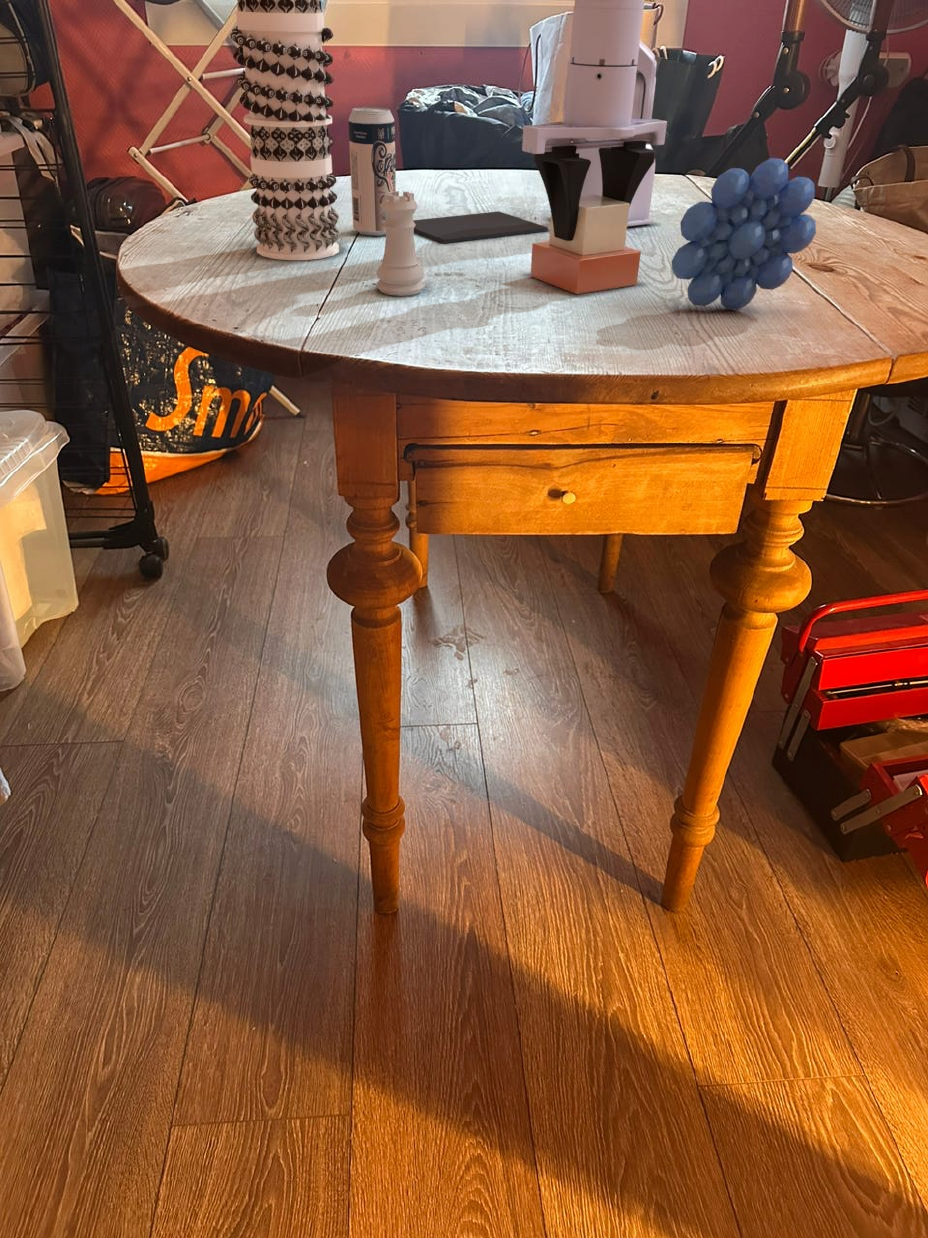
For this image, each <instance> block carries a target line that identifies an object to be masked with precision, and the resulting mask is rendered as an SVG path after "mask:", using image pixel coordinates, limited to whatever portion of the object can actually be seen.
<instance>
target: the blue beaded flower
mask: <svg viewBox="0 0 928 1238" xmlns="http://www.w3.org/2000/svg"><path fill="white" fill-rule="evenodd" d="M788 180H789V165H788V163H787V162H786V161H784V160H783V159H782V158H777V157H770V158H768V159H766V160H765V161H763V162H761V163H760V164H758V165H757V166H756V167H755V169H754V171H752V174H751V176H750V175H749V173H748V172H747V171H746V170H744V169H742V168H740V167H739V168H737V167H731V168H729V169H728V170H726V171H725V172H723V173H721V174H720V175H718V176H717V178H716V180H715V181H714V184H713V185H712V187H711V190H710V194H711V202H710V201H699V202H696V203H695V204H693V205H692V206H690V207H689V208H687V210H686V211H685V213H684V215H683V217H682V219H681V220H680V222H679V223H680V224H679V225H680V234H681V236H682V237H683V239H684V240H685V241H689V242H686V243H685V244H682V246H680V247H679V248H677V251H676V252H675V254H674V256H673V258H672V259H671V271H672V275H674V276H675V277H676V278H677V279H680V280H686V281H687V280H688V281H690V282H689V284H688V286H687V298H688V301H689V302H690V303H691V304H692V306H699V307H701V306H702V307H707V306H708V305H711V304H712V303H714V302H715V301H716V300H718V298H719V297H720V304H721V305H722V307H724V309H726V310H734V311H738V310H741V309H744V308H745V307H746V306H747V305H749V304H750V303H751V302H752V301H753V299H754V297H755V295H756V294H757V291H758V290H757V289H758V288H757V286H758V287H759V288H760V289H762V290H770V291H773V290H776V289H777V288H779V287H781V286H783V285H784V284H785V283H786V282H787V281H788V279H789V278H790V277H791V274H792V273H793V266H794V265H793V258H792V256H790V254H791V255H792V254H793V255H796V254H798V253H800V252H802V251H803V250H805V249H806V248H807V247H808V246H809V245H810V244H811V243H812V242H813V240H814V238H815V236H816V234H817V233H816V232H817V226H816V225H817V224H816V220H815V219H814V218H813V216H811V215H810V214H809V215H808V214H804V213H805V212H806V211H807V210H808V209H809V208H810V206H811V205H812V204H813V201H814V199H815V195H816V194H815V193H816V190H815V183H814V181H812V180H811V179H810V178H809V177H807V176H796V177H794V178H792V179H790V180H789V181H788Z"/></svg>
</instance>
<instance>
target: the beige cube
mask: <svg viewBox="0 0 928 1238" xmlns="http://www.w3.org/2000/svg"><path fill="white" fill-rule="evenodd" d="M629 205H630V204H629V203H626V202H622V201H619V200H615V199H611V198H607V197H604V196H600V195H596V194H591V195H581V197H580V202H579V210H578V219H577V225H576V230H575V235H574V238H573V240H572V241H565V240H562V239H559V238H556V237H555V236H554V229H553V221H552V215H551V214H550V226H549V244H550V245H553V246H556V247H559V248H561V249H564V250H567V251H570V252H573V253H576V254H579V255H582V256H583V255H591V254H598V253H605V252H613V251H620V250H624V249H625V247H626V239H627V230H628V226H627V223H628V214H629Z"/></svg>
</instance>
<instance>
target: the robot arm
mask: <svg viewBox="0 0 928 1238" xmlns="http://www.w3.org/2000/svg"><path fill="white" fill-rule="evenodd" d="M644 9H645V0H574V5H573V10H572V20H571V21H572V22H571V35H570V48H569V49H570V50H569V59H568V61H567V70H566V71H567V72H566V77H565V82H564V90H563V100H562V102H563V103H562V120H560V121H553V122H546V123H540V124H539V123H538V124H529V125H523V127H522V142H521V143H522V146H521V147H522V148H521V151H522V152H525V153H530V154H533V160H534V164H535V167H536V169H537V170H538V173H539V175H540V177H541V180H542V183H543V186H544V188H545V192H546V195H547V200H548V204H549V209H550V216H551V215H552V221H553V229H554V236H555V237H556V238H559V239H562V240H565V241H572V240H573V238H574V235H575V230H576V225H577V219H578V210H579V202H580V197H581V195H591V194H596V195H600V196H604V197H607V198H611V199H615V200H619V201H622V202H626V203H629V204H630V205H629V214H628V223H627V227H635V226H643V225H650V224H651V225H652V224H653V223H654V219H653V218H650V214H651V213H650V212H651V204H652V196H653V188H654V180H655V173H656V153H657V151H656V150H655V149H653V147H652V146H664V145H665V142H666V141H665V140H666V133H667V125H668V121H667V120H661V119H657V118H656V119H655V118H653V109H654V100H655V93H656V82H657V77H656V73H657V66H658V65H657V64H658V62H657V60H656V55H655V54H654V53H653V52H654V51H652V50H651V49H650V48H649V47H648V46H647V45H646V44H645V43H644V42H643V41H642V40H641V37H642V36H641V35H642V27H643V19H644ZM638 71H639V72H638Z"/></svg>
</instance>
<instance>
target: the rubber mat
mask: <svg viewBox="0 0 928 1238" xmlns="http://www.w3.org/2000/svg"><path fill="white" fill-rule="evenodd" d="M413 222H414V223H415V224H416V225H415V227H414V233H415V234H419V235H421V236H424V237H426V238H428V239H431V240H433V241H436V242H438V243H441V244H448V243H449V244H450V243H458V242H467V241H475V240H483V239H490V238H491V239H493V238H498V237H499V238H500V237H509V236H516V235H518V236H519V235H525V234H533V233H534V234H535V233H542V232H548V230H549V227H548V226H545V225H542V224H540V223H536V222H532V221H530V220H526V219H524V218H521V217H517V216H514V215H512V214H508V213H505V212H502V211H487V212H480V213H470V214H461V215H452V216H451V215H450V216H440V217H434V218H433V217H432V218H431V217H430V218H424V219H415V220H414V219H413Z"/></svg>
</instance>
